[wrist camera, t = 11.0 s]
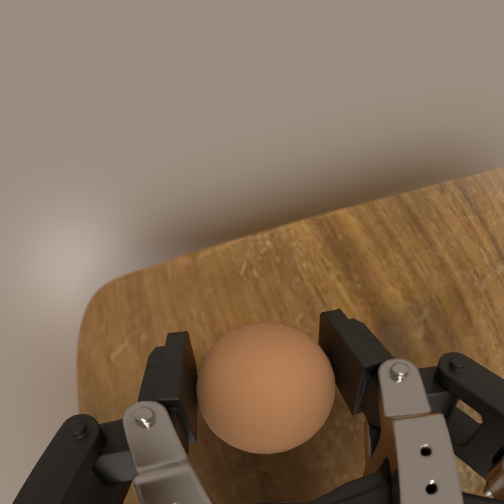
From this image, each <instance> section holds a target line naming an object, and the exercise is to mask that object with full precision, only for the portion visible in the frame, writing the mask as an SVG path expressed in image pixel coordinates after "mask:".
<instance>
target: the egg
mask: <svg viewBox="0 0 504 504" xmlns="http://www.w3.org/2000/svg"><path fill="white" fill-rule="evenodd" d="M196 394H197V402H198V405H199V409H200V412H201V414H202V416H203V417H204V419H205V421H206V422H207V424H208V426H209V427H210V429H211V430H212V431H213V432H214V433H215V434H216V435H217V436H218V437H219V438H221V439H222V440H224V441H225V442H226V443H228V444H229V445H231V446H233V447H235V448H238V449H241V450H244V451H247V452H250V453H259V454H273V453H278V452H284V451H288V450H290V449H292V448H295V447H297V446H299V445H301V444H303V443H304V442H306V441H307V440H309V439H310V438H312V437H313V435H314V434H315V433H316V432H317V431H318V430H319V429H320V428H321V427H322V426H323V425H324V423H325V421H326V419H327V417H328V416H329V414H330V412H331V410H332V406H333V402H334V398H335V375H334V372H333V369H332V366H331V363H330V360H329V359H328V357H327V356H326V354H325V353H324V351H323V350H322V348H321V347H320V346H319V345H318V344H317V343H316V342H315V341H314V340H313V339H312V338H311V337H309V336H308V335H306V334H305V333H303V332H301V331H299V330H297V329H295V328H292V327H289V326H285V325H281V324H277V323H256V324H252V325H248V326H245V327H241V328H238V329H236V330H234V331H232V332H230V333H229V334H227V335H225V336H223V337H222V338H221V339H220V340H219V341H218V342H217V343H216V344H215V345H214V346H213V347H212V348H211V349H210V351H209V352H208V354H207V355H206V357H205V358H204V360H203V362H202V364H201V367H200V370H199V373H198V377H197V385H196Z"/></svg>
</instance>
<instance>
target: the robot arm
mask: <svg viewBox="0 0 504 504" xmlns="http://www.w3.org/2000/svg"><path fill="white" fill-rule="evenodd" d="M319 346H320V347H321V348H322V350H323V351H324V353H325V354H326V356H327V357H328V359H329V360H330V363H331V366H332V369H333V372H334V375H335V384H336V385H337V387H338V389H339V391H340V393H341V395H342V396H343V398H344V400H345V402H346V404H347V405H348V407H349V409H350V411H351V413H352V415H354V414H357V413H360V412H363V413H364V414H365V416H366V417H365V420H364V440H365V468H364V473H363V477H361V478H359V479H356V480H353V481H350V482H347V483H345V484H343V485H342V486H340V487H338V488H336V489H334V490H333V491H331V492H329V493H327V494H325V495H323V496H321V497H319V498H317V499H315V500H313V501H311V502H306V503H267V502H265V503H258V504H504V379H502V378H501V377H499V376H497V375H496V374H494V373H493V372H491V371H490V370H488V369H486V368H485V367H483V366H482V365H480V364H478V363H477V362H475V361H473V360H472V359H470V358H469V357H467V356H465V355H463V354H461V353H456V352H451V353H446V354H444V355H443V356H442V357H441V358H440V359H439V362H438V365H437V366H435V367H427V368H417V367H416V365H415V364H414V363H412V362H410V361H408V360H406V359H400V358H394V357H393V356H392V355H391V354H390V353H389V352H388V350H387V349H386V348H385V347H384V346H383V345H382V344H381V342H380V341H379V340H378V339H376V337H375V336H374V335H373V333H372V332H370V330H369V329H368V328H367V327H366V326H365V325H364V324H363V323H361V322H360V321H358V320H356V319H354V318H353V319H348V318H347V317H346V315H345V314H344V313H343V312H342V311H341V310H340V309H337V310H331V311H326V312H322V313H321V314H320V325H319ZM196 385H197V368H196V362H195V358H194V354H193V350H192V346H191V342H190V338H189V334H188V332H187V331H185V332H174V333H168V335H167V339H166V344H165V346H161V347H156V348H155V349H154V350H153V351H152V353H151V354H150V355H149V358H148V361H147V367H146V369H145V374H144V377H143V381H142V385H141V389H140V393H139V398H138V402H137V403H135V404H133V405H132V406H130V407H129V408H128V409H127V410H126V411H125V413H124V415H123V419H120V420H117V421H113V422H108V423H103V424H98V422H97V421H96V420H95V419H94V418H93V417H92V416H89V415H86V414H79V415H75V416H72V417H70V418H69V419H67V420H66V421H65V422H64V423H63V425H62V426H61V427H60V429H59V430H58V432H57V433H56V435H55V436H54V438H53V439H52V441H51V442H50V444H49V445H48V447H47V448H46V450H45V452H44V453H43V455H42V456H41V458H40V459H39V461H38V462H37V464H36V465H35V467H34V469H33V470H32V472H31V474H30V475H29V477H28V478H27V480H26V482H25V483H24V485H23V487H22V488H21V490H20V491H19V493H18V495H17V497H16V498H15V500H14V502H13V504H123V502H124V499H125V497H126V495H127V492H128V490H129V487H130V485H131V482H132V480H133V482H134V486H135V489H136V492H137V495H138V498H139V501H140V503H141V504H215V503H214V502H213V500H212V498H211V497H210V495H209V493H208V491H207V490H206V488H205V486H204V484H203V483H202V481H201V479H200V477H199V475H198V473H197V471H196V470H195V468H194V466H193V464H192V462H191V460H190V458H189V456H188V443H197V394H196ZM459 399H460V400H461V401H463V402H464V403H466V404H467V405H468V406H470V407H471V408H473V409H474V410H475V411H477V412H478V413H479V414H480V415H481V416H482V420H483V422H482V424H480V423H478V422H476V421H475V420H474V419H472V418H471V417H470V416H468V415H467V414H465V413H464V412H463V411H461V410H460V409H459V408H457V407H456V405H457V403H458V401H459ZM454 454H455V455H456V456H457V457H459V458H460V459H461V460H462V461H463V462H465V463H466V464H467V465H468V466H469V467H471V468H472V469H473V470H474V471H476V472H477V473H478V474H479V475H480V476H482V477H483V478H484V479H485V480H486V485H485V486H484V489H483V492H484V494H485V495H487V496H490V495H493V497H494V499H493V498H487V497H482V496H478V495H473V494H469V493H465V492H462V490H461V485H460V479H459V474H458V469H457V465H456V460H455V456H454Z"/></svg>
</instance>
